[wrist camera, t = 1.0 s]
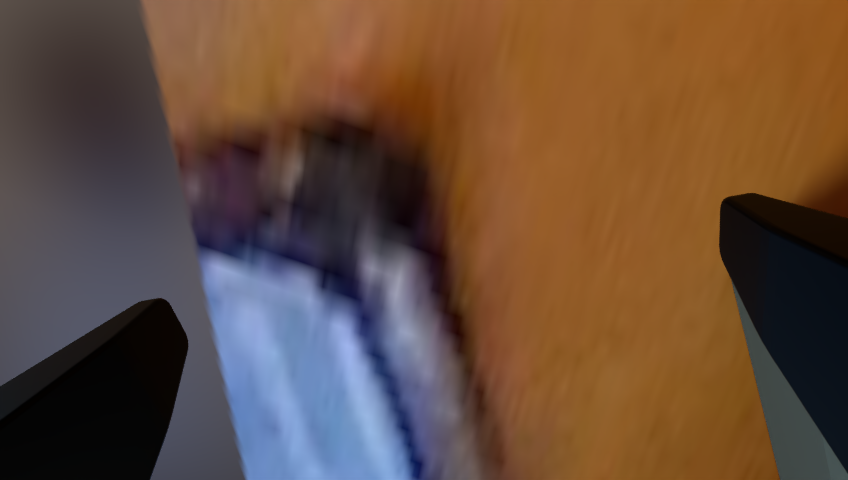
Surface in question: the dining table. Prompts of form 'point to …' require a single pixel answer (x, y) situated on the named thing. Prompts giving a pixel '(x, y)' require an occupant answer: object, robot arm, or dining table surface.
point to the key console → (788, 418)
